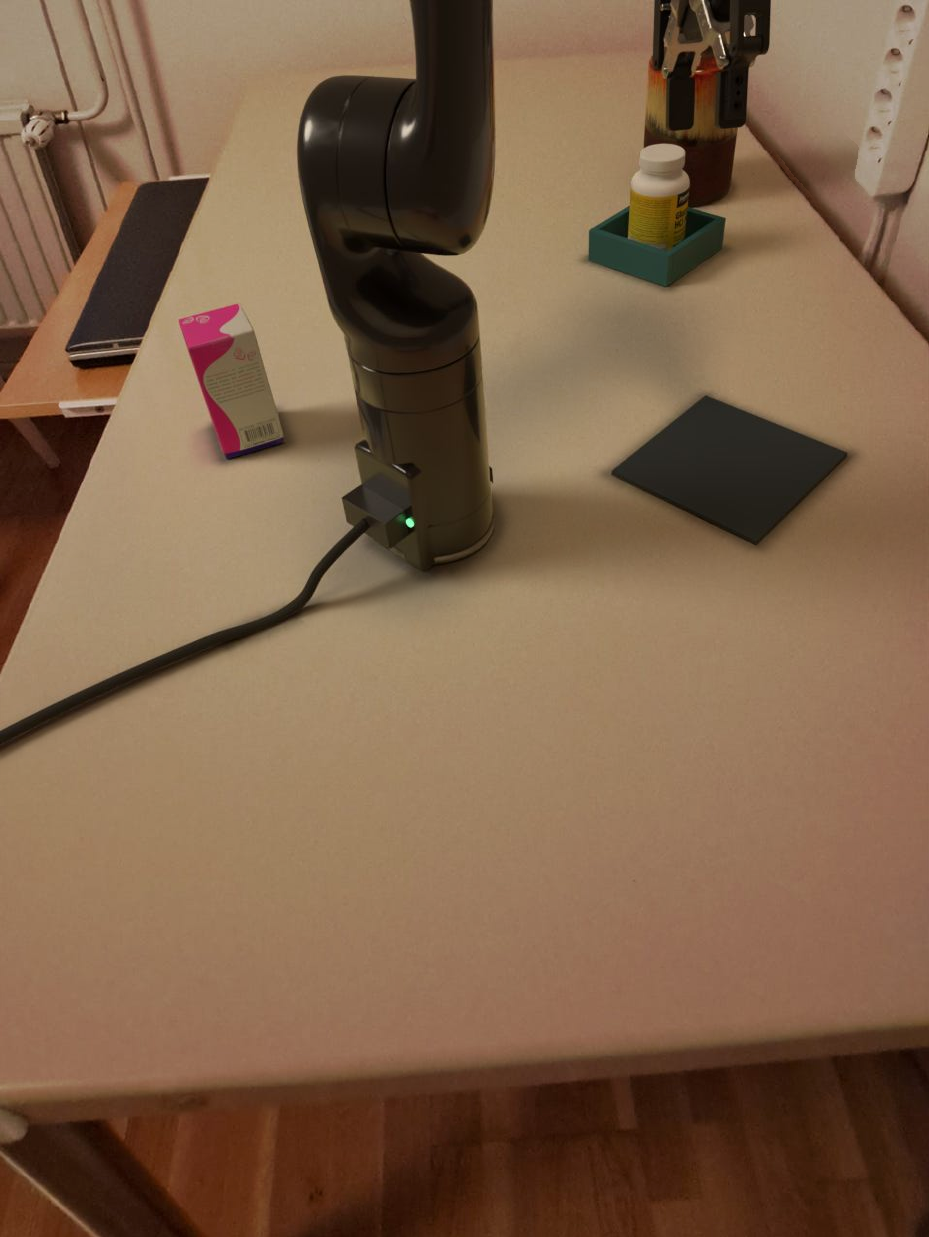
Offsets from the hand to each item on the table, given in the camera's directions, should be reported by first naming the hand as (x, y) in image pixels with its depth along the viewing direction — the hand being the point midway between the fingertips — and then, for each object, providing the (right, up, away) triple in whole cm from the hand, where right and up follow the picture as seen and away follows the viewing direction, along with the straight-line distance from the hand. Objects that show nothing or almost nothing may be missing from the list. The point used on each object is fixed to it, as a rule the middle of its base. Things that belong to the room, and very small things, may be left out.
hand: (703, 129), depth 73 cm
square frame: (+3, +3, +32) cm, 32 cm away
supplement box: (-39, -21, +15) cm, 47 cm away
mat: (+4, -25, +6) cm, 26 cm away
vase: (+9, +15, +43) cm, 46 cm away
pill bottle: (+3, +3, +32) cm, 32 cm away
